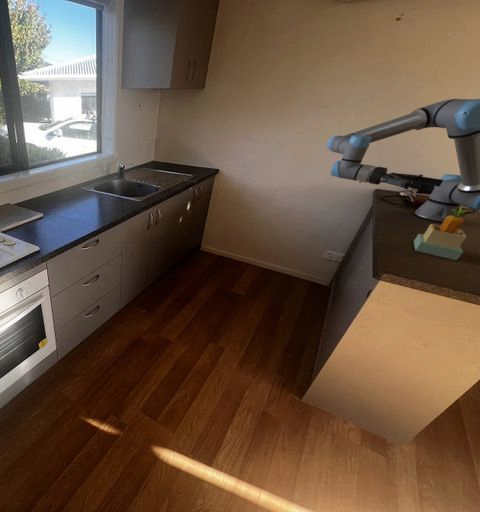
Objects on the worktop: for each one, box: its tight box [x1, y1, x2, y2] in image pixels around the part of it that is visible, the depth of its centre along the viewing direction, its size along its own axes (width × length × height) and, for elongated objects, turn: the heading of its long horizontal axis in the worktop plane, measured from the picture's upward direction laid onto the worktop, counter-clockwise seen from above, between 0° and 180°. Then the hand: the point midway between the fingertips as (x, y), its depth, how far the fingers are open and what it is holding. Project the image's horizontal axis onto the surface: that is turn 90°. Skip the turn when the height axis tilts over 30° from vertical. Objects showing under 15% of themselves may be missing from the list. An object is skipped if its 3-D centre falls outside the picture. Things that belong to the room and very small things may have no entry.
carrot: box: [439, 206, 467, 234], centre depth 117 cm, size 5×5×15 cm
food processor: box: [413, 223, 467, 261], centre depth 120 cm, size 13×12×10 cm
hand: (437, 185), depth 117 cm, fingers open, 13 cm apart
